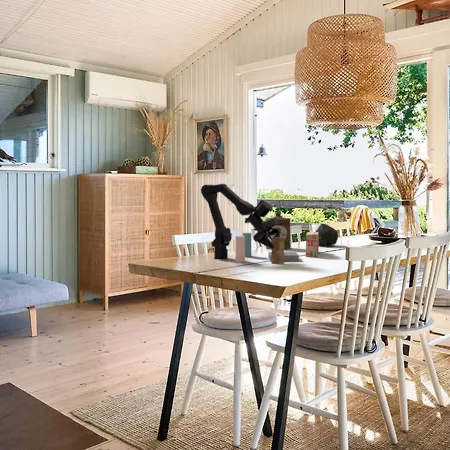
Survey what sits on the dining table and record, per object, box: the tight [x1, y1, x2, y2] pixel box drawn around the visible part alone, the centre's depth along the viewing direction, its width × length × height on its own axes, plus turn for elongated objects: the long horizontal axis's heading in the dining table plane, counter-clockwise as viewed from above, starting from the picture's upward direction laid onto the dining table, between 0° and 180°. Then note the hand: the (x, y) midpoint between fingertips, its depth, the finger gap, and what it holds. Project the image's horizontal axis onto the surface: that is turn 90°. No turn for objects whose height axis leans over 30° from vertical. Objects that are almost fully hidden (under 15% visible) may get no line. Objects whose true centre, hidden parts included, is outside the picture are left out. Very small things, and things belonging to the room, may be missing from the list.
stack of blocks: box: [305, 231, 320, 258], centre depth 298 cm, size 21×6×12 cm, turn 169°
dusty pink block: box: [235, 235, 246, 263], centre depth 271 cm, size 4×4×12 cm
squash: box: [315, 222, 339, 247], centre depth 341 cm, size 14×15×15 cm
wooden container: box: [265, 211, 292, 251], centre depth 328 cm, size 15×15×22 cm
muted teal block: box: [242, 232, 252, 258], centre depth 291 cm, size 4×4×12 cm
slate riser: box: [267, 251, 300, 262], centre depth 278 cm, size 14×14×3 cm
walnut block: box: [271, 237, 285, 265], centre depth 264 cm, size 4×4×12 cm
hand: (278, 247), depth 264 cm, fingers open, 9 cm apart
